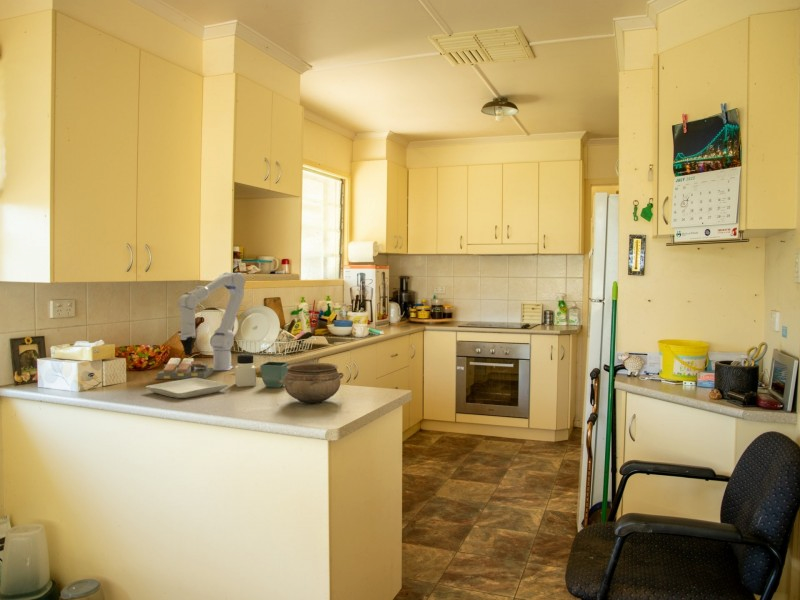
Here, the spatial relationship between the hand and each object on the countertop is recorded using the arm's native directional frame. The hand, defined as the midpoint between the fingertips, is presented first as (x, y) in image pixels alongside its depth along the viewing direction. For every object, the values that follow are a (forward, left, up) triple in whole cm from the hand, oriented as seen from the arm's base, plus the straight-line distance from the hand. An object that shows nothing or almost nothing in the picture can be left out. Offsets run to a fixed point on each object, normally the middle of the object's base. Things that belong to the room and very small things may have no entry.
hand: (188, 355), depth 266 cm
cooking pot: (+58, +58, -9) cm, 82 cm away
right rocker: (+4, +6, -4) cm, 8 cm away
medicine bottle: (+25, +29, -9) cm, 39 cm away
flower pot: (+29, +41, -9) cm, 51 cm away
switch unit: (+4, 0, -8) cm, 9 cm away
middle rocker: (+4, 0, -4) cm, 6 cm away
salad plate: (+40, +11, -9) cm, 42 cm away
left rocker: (+4, -5, -4) cm, 8 cm away
